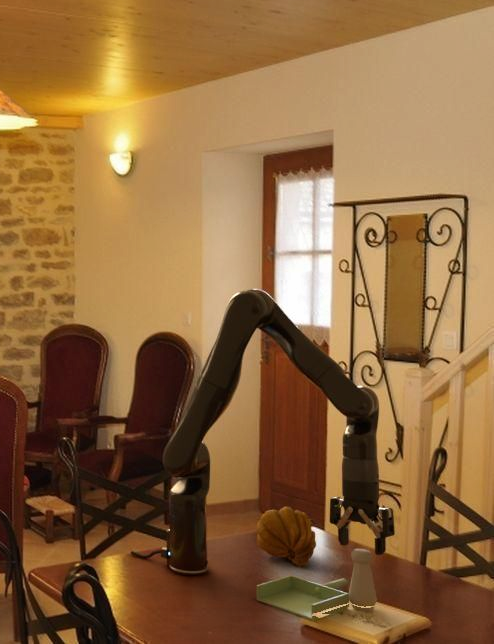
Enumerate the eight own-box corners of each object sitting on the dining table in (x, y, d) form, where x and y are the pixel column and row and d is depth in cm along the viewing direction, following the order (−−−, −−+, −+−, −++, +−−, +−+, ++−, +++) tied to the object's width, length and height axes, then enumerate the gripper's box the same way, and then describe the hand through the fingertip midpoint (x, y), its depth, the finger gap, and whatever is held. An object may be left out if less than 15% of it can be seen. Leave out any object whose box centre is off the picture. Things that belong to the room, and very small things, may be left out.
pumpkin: (255, 572, 229) (249, 529, 248) (321, 584, 226) (309, 538, 245) (264, 526, 225) (256, 485, 244) (331, 537, 222) (318, 495, 240)
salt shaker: (379, 614, 195) (379, 554, 195) (352, 612, 196) (351, 553, 196) (372, 604, 201) (372, 546, 201) (345, 603, 202) (344, 545, 202)
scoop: (313, 620, 192) (313, 605, 192) (256, 600, 205) (256, 585, 205) (375, 599, 204) (375, 584, 204) (318, 581, 217) (317, 567, 217)
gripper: (321, 473, 203) (322, 544, 203) (380, 484, 191) (381, 560, 191) (341, 469, 207) (343, 539, 207) (400, 480, 195) (402, 554, 195)
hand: (361, 549), depth 199 cm, fingers open, 8 cm apart
